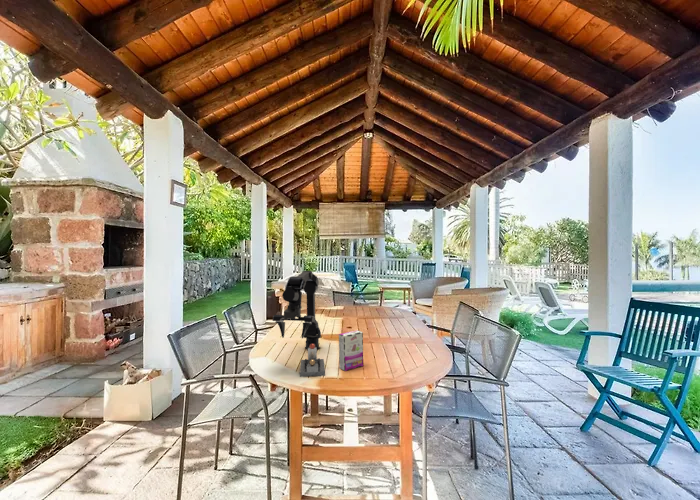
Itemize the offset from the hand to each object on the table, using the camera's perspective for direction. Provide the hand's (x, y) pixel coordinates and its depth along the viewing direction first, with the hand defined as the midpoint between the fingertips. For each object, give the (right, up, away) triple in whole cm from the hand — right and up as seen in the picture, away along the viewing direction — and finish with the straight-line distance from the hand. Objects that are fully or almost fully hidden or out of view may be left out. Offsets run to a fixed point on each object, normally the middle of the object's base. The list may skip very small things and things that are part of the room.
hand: (292, 337), depth 156 cm
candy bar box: (+27, -15, +5) cm, 31 cm away
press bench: (+9, -15, +2) cm, 18 cm away
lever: (+9, -13, +2) cm, 16 cm away
